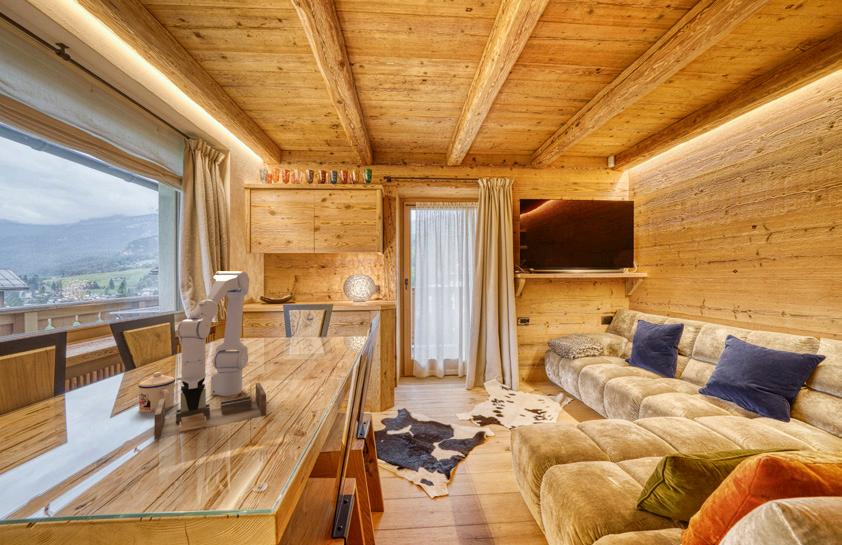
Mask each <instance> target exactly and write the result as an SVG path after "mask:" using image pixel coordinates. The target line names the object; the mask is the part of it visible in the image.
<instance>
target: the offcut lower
mask: <svg viewBox="0 0 842 545" xmlns="http://www.w3.org/2000/svg"><path fill="white" fill-rule="evenodd" d="M204 426H206V417H205V421H203V422H199V423H195V424H191V425H187V426H183V427H182V424H181V422H180V424H179V432H181V431H185V430H190V429H195V428H199V427H204Z"/></svg>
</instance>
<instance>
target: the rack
mask: <svg viewBox="0 0 842 545" xmlns="http://www.w3.org/2000/svg"><path fill="white" fill-rule="evenodd" d="M210 406H211V405H210V403H206V407H205V408H200V409H197V410H191V411H184V412H181V408H178V409H176V413H175V416H170V417H166V409H165V398H163V399H160V400H159V403H158V406H157V409H156V411H154V412H155V413H154V428H153V430H154V440H160V439H164V438H168V437H172V436H176V435H181V434H186V433H191V432H195V431H199V430H201V431H202V430H205V429H209V428H214V427H219V426H222V425H228V424H232V423H237V422H242V421H246V420H252V419H254V418H255V419H256V418H260V417H265V416H267V392H265V390H264V388H263V386H262V384H261V383H260V382H257V383H255V401H252V399H251V395H250V396H243V397H238V398H232V399H227V400H222V401H220V407H219V408H217V407H216V408H211V407H210ZM200 413H203V414H204V416H205V417H206V426H204V427H199V428H195V429H190V430H185V431H181V432H179V424H180V422H181V418H183V417H187V416H192V415H196V414H200Z"/></svg>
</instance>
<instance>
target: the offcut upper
mask: <svg viewBox="0 0 842 545" xmlns="http://www.w3.org/2000/svg"><path fill="white" fill-rule="evenodd" d="M203 421H205V416H204V414H203V413H200V414H196V415H192V416H187V417H183V418H181V424H182V427H183V426H187V425H191V424H195V423H199V422H203Z"/></svg>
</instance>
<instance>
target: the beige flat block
mask: <svg viewBox="0 0 842 545" xmlns="http://www.w3.org/2000/svg"><path fill="white" fill-rule="evenodd" d="M206 392H207V390H206V386H205V387H204V389H203V391H202V393H201V396H200V401H199V406H198V409H200V408H205V407H206V404H207V403H206V399H207V398H206V397H207V394H206ZM180 409H181V412H184V411H189V410H188V407H187V402H186V398H185V395H184V394H183V392H182V391H181V390H180Z"/></svg>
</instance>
